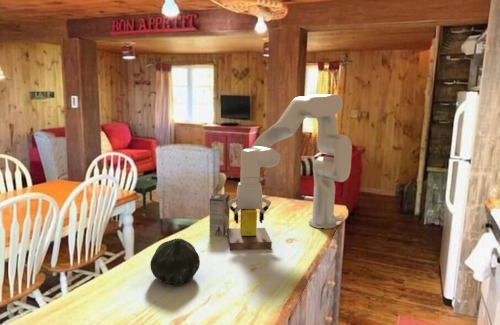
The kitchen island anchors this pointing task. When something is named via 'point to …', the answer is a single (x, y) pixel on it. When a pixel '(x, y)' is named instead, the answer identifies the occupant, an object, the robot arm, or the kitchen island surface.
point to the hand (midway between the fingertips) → (248, 222)
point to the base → (248, 240)
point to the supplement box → (248, 223)
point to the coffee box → (219, 215)
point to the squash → (175, 262)
